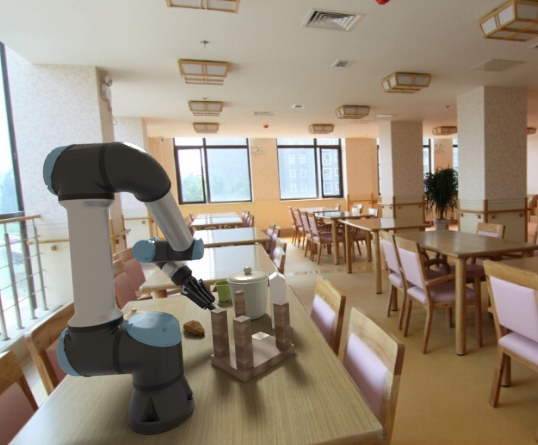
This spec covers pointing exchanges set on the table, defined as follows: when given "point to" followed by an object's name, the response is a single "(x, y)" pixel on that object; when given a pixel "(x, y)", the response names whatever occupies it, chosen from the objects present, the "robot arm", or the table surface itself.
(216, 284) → the plant pot
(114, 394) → the table surface
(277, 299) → the milk
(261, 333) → the stool seat
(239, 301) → the hinged leg
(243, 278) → the canister
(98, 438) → the table surface
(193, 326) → the croissant
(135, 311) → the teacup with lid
